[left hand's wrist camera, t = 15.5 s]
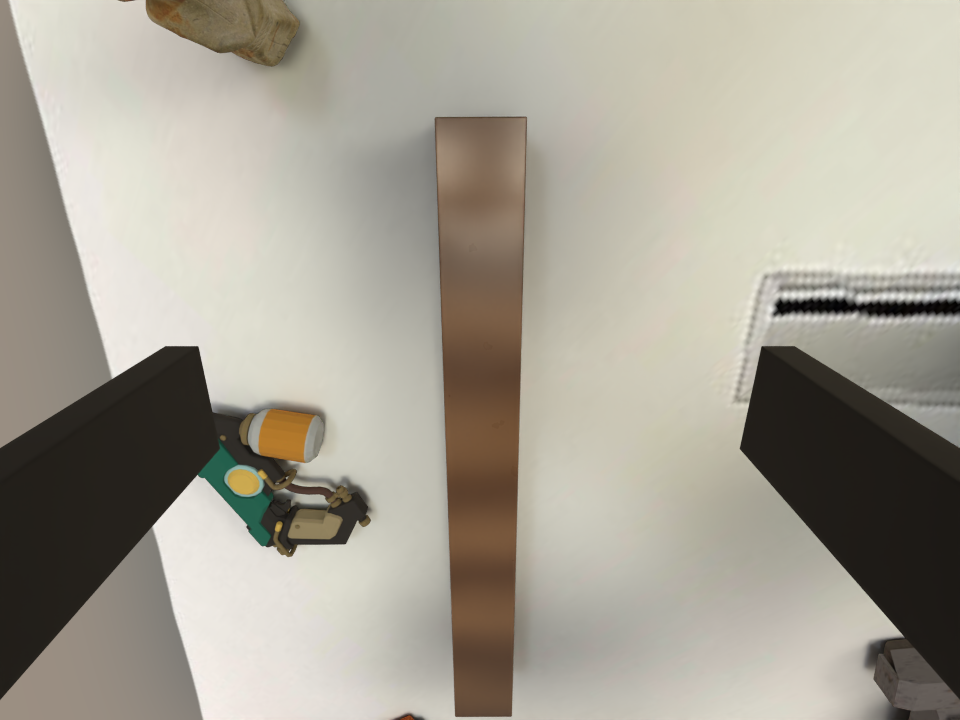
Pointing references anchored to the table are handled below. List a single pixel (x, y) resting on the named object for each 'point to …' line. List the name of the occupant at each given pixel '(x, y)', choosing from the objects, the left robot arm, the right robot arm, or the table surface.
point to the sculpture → (230, 25)
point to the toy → (914, 684)
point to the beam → (482, 393)
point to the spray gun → (278, 480)
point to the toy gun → (407, 718)
